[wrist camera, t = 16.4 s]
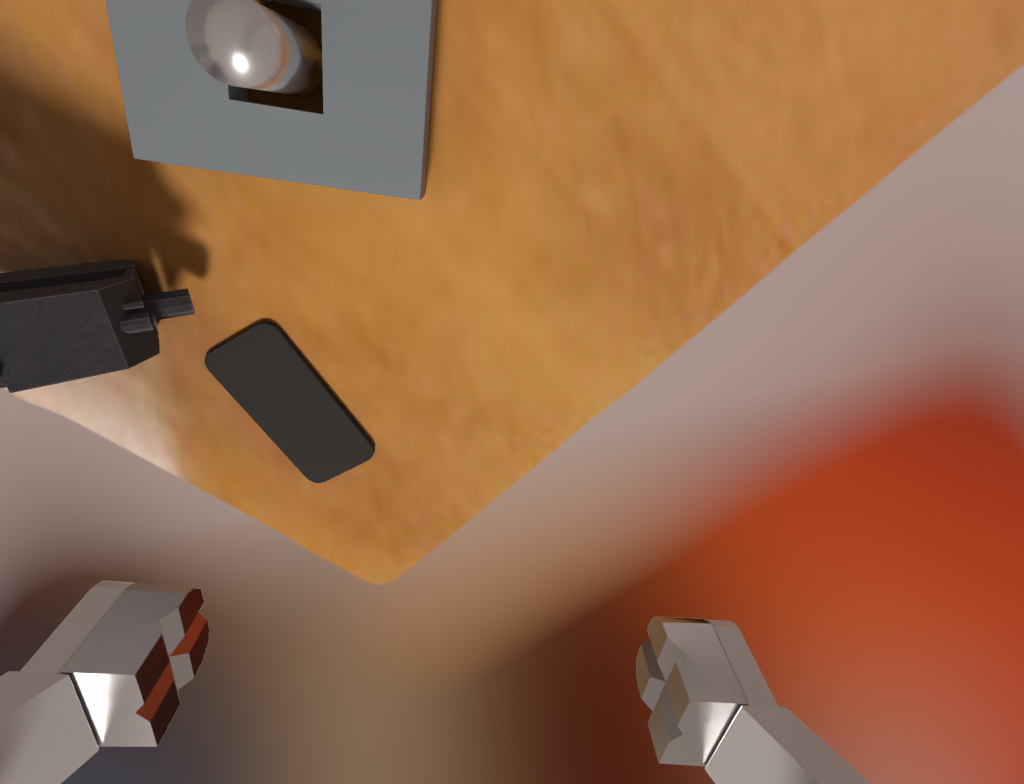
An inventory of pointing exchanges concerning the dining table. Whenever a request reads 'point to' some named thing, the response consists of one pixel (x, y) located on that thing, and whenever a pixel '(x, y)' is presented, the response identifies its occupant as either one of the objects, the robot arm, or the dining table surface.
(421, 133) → the socket plate
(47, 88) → the dining table surface
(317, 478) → the phone
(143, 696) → the robot arm
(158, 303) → the tool
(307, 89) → the steel pin
